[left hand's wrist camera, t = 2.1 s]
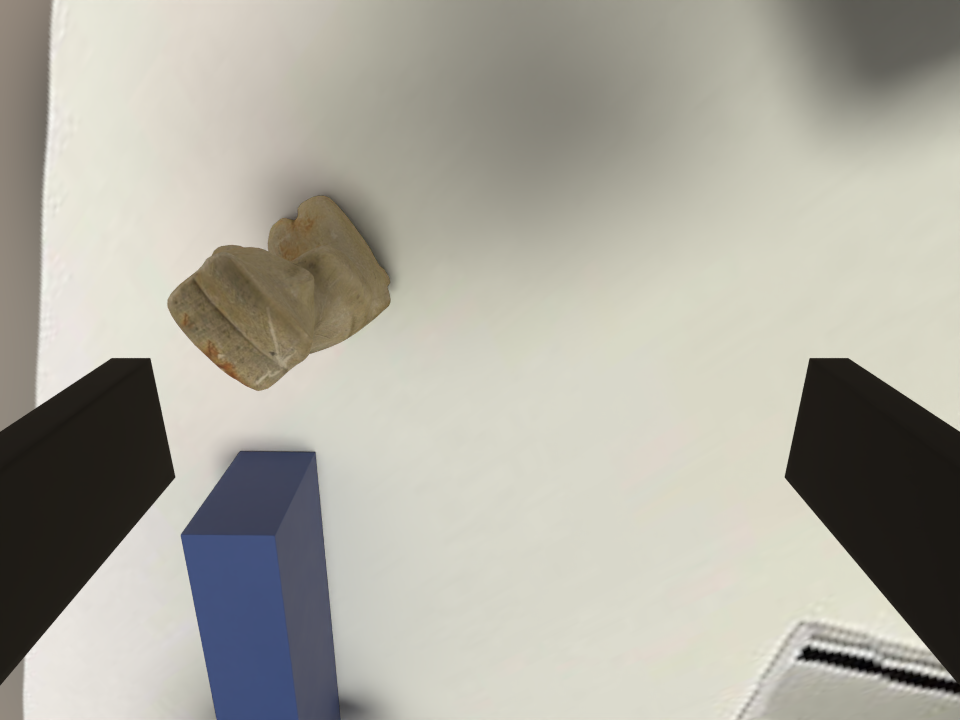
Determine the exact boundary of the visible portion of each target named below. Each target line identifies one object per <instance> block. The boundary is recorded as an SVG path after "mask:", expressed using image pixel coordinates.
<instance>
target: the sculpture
mask: <svg viewBox="0 0 960 720" xmlns="http://www.w3.org/2000/svg"><path fill="white" fill-rule="evenodd" d="M268 250H269V252H268V251H266V250H264V249H260V248H254V247H245V248H244V247H241V246H236V245H227V246H221V247H218V248H217V249H216V250H215V251H214V252H213V254H212V256H211V257H209V258H207V259H206V261H205V262H204V264H203V265H202V267H200V268H199V270H198V271H196V272H195V273H194V274H193V275H191V276H190V277H189V278H187V279H186V280H185V281H184V282H182V283H181V284H180V285H179V286H178V287H177V288H176V289H175V290H174V291H173V292H172V293H171V295H170V297H169V298H168V303H167V304H168V309H169V311H170V313H171V315H172V317H173V318H174V320H175V321H176V323H177V324H178V326H179V327H180V328H181V329H182V331H183V332H184V333H185V334H186V336H187V337H188V338H189V339H190V340H191V341H192V342H193V343H194V345H195V346H197V347H198V348H199V349H200V350H201V351H202V352H203V353H204V354H205V355H206V356H207V357H208V358H209V359H210V360H211V361H212V362H213V363H215V364H216V365H217V366H218V367H219V368H220V369H221V370H222V371H224V372H225V373H226V374H228V375H229V376H231V377H232V378H234V379H236V380H238V381H239V382H241V383H242V384H244V385H245V386H247V387H250V388H252V389H254V390H257V391H261V390H264V389H267V388H269V387H271V386H272V385H273V384H275V383H276V382H277V381H278V380H279V379H280V378H281V377H283V376H284V375H285V374H286V373H287V372H288V371H289V370H290V369H292V368H293V367H294V366H296V365H297V364H299V363H300V362H302V361H303V360H304V359H306V357H307V356H308V355H309V354H311V353H314V352H317V351H320V350H323V349H326V348H329V347H331V346H333V345H336V344H338V343H340V342H342V341H344V340H346V339H348V338H349V337H351V336H352V335H354V334H355V333H356V332H358V331H359V330H361V329H362V328H363V327H364V326H366V325H367V324H368V323H370V322H371V321H372V320H373V319H375V318H376V317H377V316H378V315H379V314H380V313H381V312H382V311H383V310H385V309H386V308H387V307H388V306H389V304H390V294H389V291H388V288H387V286H388V285H389V284H390V279H389V276H388V275H387V273H386V272H385V270H384V269H383V268H382V267H380V266H379V264H378V263H377V261H376V259H375V257H374V255H373V253H372V251H371V249H370V248H369V246H368V245H367V243H366V242H365V240H364V239H363V238H362V236H361V235H360V234H359V232H358V231H357V229H356V228H355V227H354V225H353V224H352V222H351V221H350V220H349V218H348V217H347V216H346V215H345V213H344V212H343V211H342V210H341V209H340V208H339V207H338V206H337V205H336V204H335V203H334V202H333V201H332V200H331V199H330V198H329V197H326V196H315V197H312V198H310V199H308V200H306V201H305V202H303V203H301V205H300V206H299V208H298V217H297V218H296V220H291V219H286V218H282V219H280V220H279V221H278V222H276V223H275V224H274V225H273V226H272V228H271V230H270V234H269V239H268Z"/></svg>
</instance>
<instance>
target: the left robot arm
mask: <svg viewBox="0 0 960 720" xmlns="http://www.w3.org/2000/svg"><path fill="white" fill-rule="evenodd" d="M174 478H175V473H174V469H173V464H172V459H171V454H170V450H169V445H168V440H167V435H166V431H165V426H164V421H163V416H162V411H161V407H160V402H159V397H158V392H157V388H156V383H155V378H154V373H153V369H152V364H151V359H150V358H111V359H110V360H108V361H107V362H105V363H104V364H102V365H101V366H99V367H98V368H96V369H95V370H93V371H92V372H90V373H89V374H87V375H86V376H84V377H83V378H81V379H80V380H78V381H77V382H75V383H73V384H72V385H70V386H69V387H67V388H66V389H64V390H63V391H61V392H60V393H58V394H57V395H55V396H54V397H52V398H51V399H49V400H48V401H46V402H45V403H43V404H42V405H40V406H39V407H37V408H36V409H34V410H33V411H31V412H30V413H28V414H27V415H25V416H23V417H22V418H20V419H19V420H17V421H16V422H14V423H13V424H11V425H10V426H8V427H7V428H5V429H4V430H2V431H1V432H0V685H1V684H2V683H3V682H4V680H5V679H6V678H7V677H8V676H9V674H10V673H11V672H12V671H13V670H14V668H15V667H16V666H17V665H18V664H19V662H20V661H21V660H22V659H23V658H24V657H25V655H26V654H27V653H28V652H29V651H30V649H31V648H32V647H33V646H34V645H35V644H36V642H37V641H38V640H39V639H40V638H41V636H42V635H43V634H44V633H45V632H46V630H47V629H48V628H49V627H50V626H51V625H52V623H53V622H54V621H55V620H56V619H57V617H58V616H59V615H60V614H61V613H62V611H63V610H64V609H65V608H66V607H67V605H68V604H69V603H70V602H71V601H72V600H73V598H74V597H75V596H76V595H77V594H78V592H79V591H80V590H81V589H82V588H83V586H84V585H85V584H86V583H87V582H88V581H89V579H90V578H91V577H92V576H93V575H94V573H95V572H96V571H97V570H98V569H99V567H100V566H101V565H102V564H103V563H104V562H105V560H106V559H107V558H108V557H109V556H110V554H111V553H112V552H113V551H114V550H115V548H116V547H117V546H118V545H119V544H120V543H121V541H122V540H123V539H124V538H125V537H126V535H127V534H128V533H129V532H130V531H131V529H132V528H133V527H134V526H135V525H136V524H137V522H138V521H139V520H140V519H141V518H142V516H143V515H144V514H145V513H146V512H147V510H148V509H149V508H150V507H151V506H152V505H153V503H154V502H155V501H156V500H157V499H158V497H159V496H160V495H161V494H162V493H163V491H164V490H165V489H166V488H167V487H168V486H169V484H170V483H171V482H172V481H173V480H174ZM785 478H786V480H787V481H788V482H789V483H790V484H791V486H792V487H793V488H794V489H795V490H796V491H797V493H798V494H799V495H800V496H801V497H802V499H803V500H804V501H805V502H806V503H807V505H808V506H809V507H810V508H811V509H812V510H813V512H814V513H815V514H816V515H817V516H818V518H819V519H820V520H821V521H822V522H823V524H824V525H825V526H826V527H827V528H828V529H829V531H830V532H831V533H832V534H833V535H834V537H835V538H836V539H837V540H838V541H839V543H840V544H841V545H842V546H843V547H844V548H845V550H846V551H847V552H848V553H849V554H850V556H851V557H852V558H853V559H854V560H855V562H856V563H857V564H858V565H859V566H860V567H861V569H862V570H863V571H864V572H865V573H866V575H867V576H868V577H869V578H870V579H871V581H872V582H873V583H874V584H875V585H876V586H877V588H878V589H879V590H880V591H881V592H882V594H883V595H884V596H885V597H886V598H887V600H888V601H889V602H890V603H891V604H892V605H893V607H894V608H895V609H896V610H897V611H898V613H899V614H900V615H901V616H902V617H903V619H904V620H905V621H906V622H907V623H908V625H909V626H910V627H911V628H912V629H913V630H914V632H915V633H916V634H917V635H918V636H919V638H920V639H921V640H922V641H923V642H924V644H925V645H926V646H927V647H928V648H929V649H930V651H931V652H932V653H933V654H934V655H935V657H936V658H937V659H938V660H939V661H940V663H941V664H942V665H943V666H944V667H945V668H946V670H947V671H948V672H949V673H950V674H951V676H952V677H953V678H954V679H955V680H956V682H957V683H958V684H959V685H960V432H959V431H958V430H956V429H955V428H953V427H952V426H950V425H949V424H947V423H946V422H944V421H943V420H941V419H940V418H938V417H937V416H935V415H934V414H932V413H931V412H929V411H927V410H926V409H924V408H923V407H921V406H920V405H918V404H917V403H915V402H914V401H912V400H911V399H909V398H908V397H906V396H905V395H903V394H902V393H900V392H899V391H897V390H896V389H894V388H893V387H891V386H890V385H888V384H887V383H885V382H883V381H882V380H880V379H879V378H877V377H876V376H874V375H873V374H871V373H870V372H868V371H867V370H865V369H864V368H862V367H861V366H859V365H858V364H856V363H855V362H853V361H852V360H850V359H849V358H810V359H809V364H808V369H807V373H806V378H805V383H804V388H803V392H802V397H801V402H800V407H799V411H798V416H797V421H796V426H795V430H794V435H793V440H792V445H791V450H790V454H789V459H788V464H787V469H786V473H785Z"/></svg>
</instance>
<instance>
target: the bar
mask: <svg viewBox="0 0 960 720" xmlns="http://www.w3.org/2000/svg"><path fill="white" fill-rule="evenodd" d="M181 539H182V544H183V549H184V555H185V560H186V565H187V570H188V575H189V580H190V585H191V590H192V595H193V600H194V606H195V611H196V616H197V621H198V626H199V631H200V636H201V641H202V646H203V652H204V657H205V662H206V667H207V672H208V677H209V682H210V687H211V692H212V698H213V703H214V708H215V713H216V718H217V720H340V710H339V699H338V689H337V678H336V667H335V657H334V646H333V636H332V625H331V614H330V604H329V593H328V583H327V572H326V561H325V551H324V540H323V530H322V519H321V508H320V498H319V487H318V477H317V466H316V455H315V452H249V451H240V452H239V453H238V455H237V456H236V458H235V459H234V460H233V462H232V463H231V465H230V466H229V468H228V469H227V470H226V472H225V473H224V475H223V476H222V477H221V479H220V480H219V482H218V483H217V484H216V486H215V487H214V489H213V490H212V491H211V493H210V494H209V496H208V497H207V498H206V500H205V501H204V503H203V504H202V506H201V507H200V508H199V510H198V511H197V513H196V514H195V515H194V517H193V518H192V520H191V521H190V522H189V524H188V525H187V527H186V528H185V529H184V531H183V532H182V534H181Z"/></svg>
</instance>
